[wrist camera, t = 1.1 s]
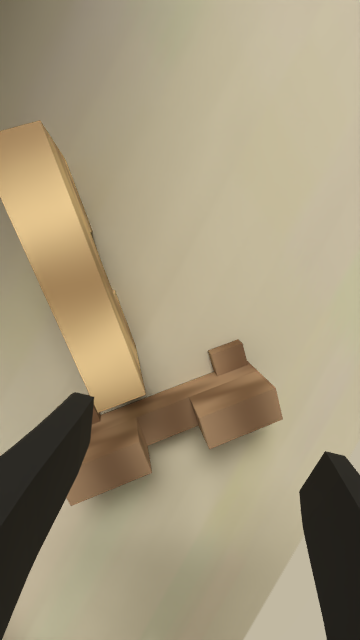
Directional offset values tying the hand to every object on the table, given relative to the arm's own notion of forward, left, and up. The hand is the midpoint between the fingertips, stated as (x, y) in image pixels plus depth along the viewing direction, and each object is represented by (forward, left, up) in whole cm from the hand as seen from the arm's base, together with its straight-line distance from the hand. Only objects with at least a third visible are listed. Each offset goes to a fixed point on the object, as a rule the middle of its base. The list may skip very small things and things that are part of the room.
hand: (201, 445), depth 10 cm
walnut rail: (+2, -6, -13) cm, 14 cm away
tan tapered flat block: (-5, +3, -13) cm, 14 cm away
